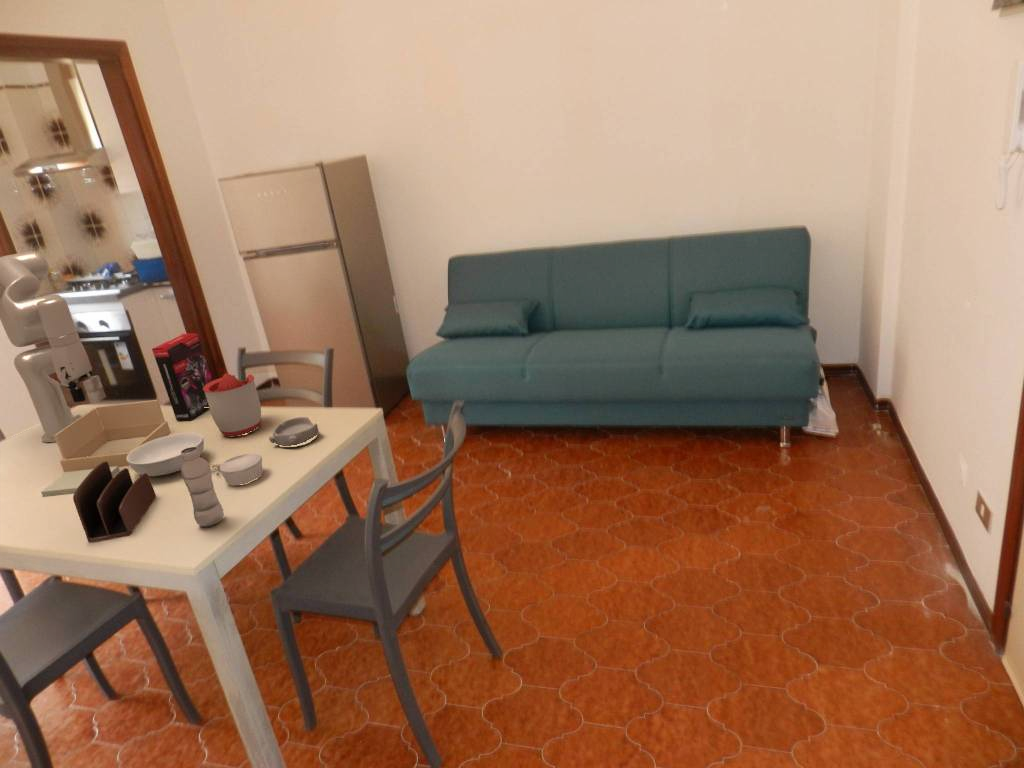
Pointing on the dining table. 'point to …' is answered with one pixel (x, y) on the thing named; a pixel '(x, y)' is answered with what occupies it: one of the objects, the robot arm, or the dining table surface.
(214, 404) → the citrus juicer
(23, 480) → the dining table surface
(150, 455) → the serving bowl
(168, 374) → the graphics card box
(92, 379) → the walnut box
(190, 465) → the plastic bottle
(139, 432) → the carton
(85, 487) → the letter holder
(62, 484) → the board
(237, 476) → the ramekin
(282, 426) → the dish
